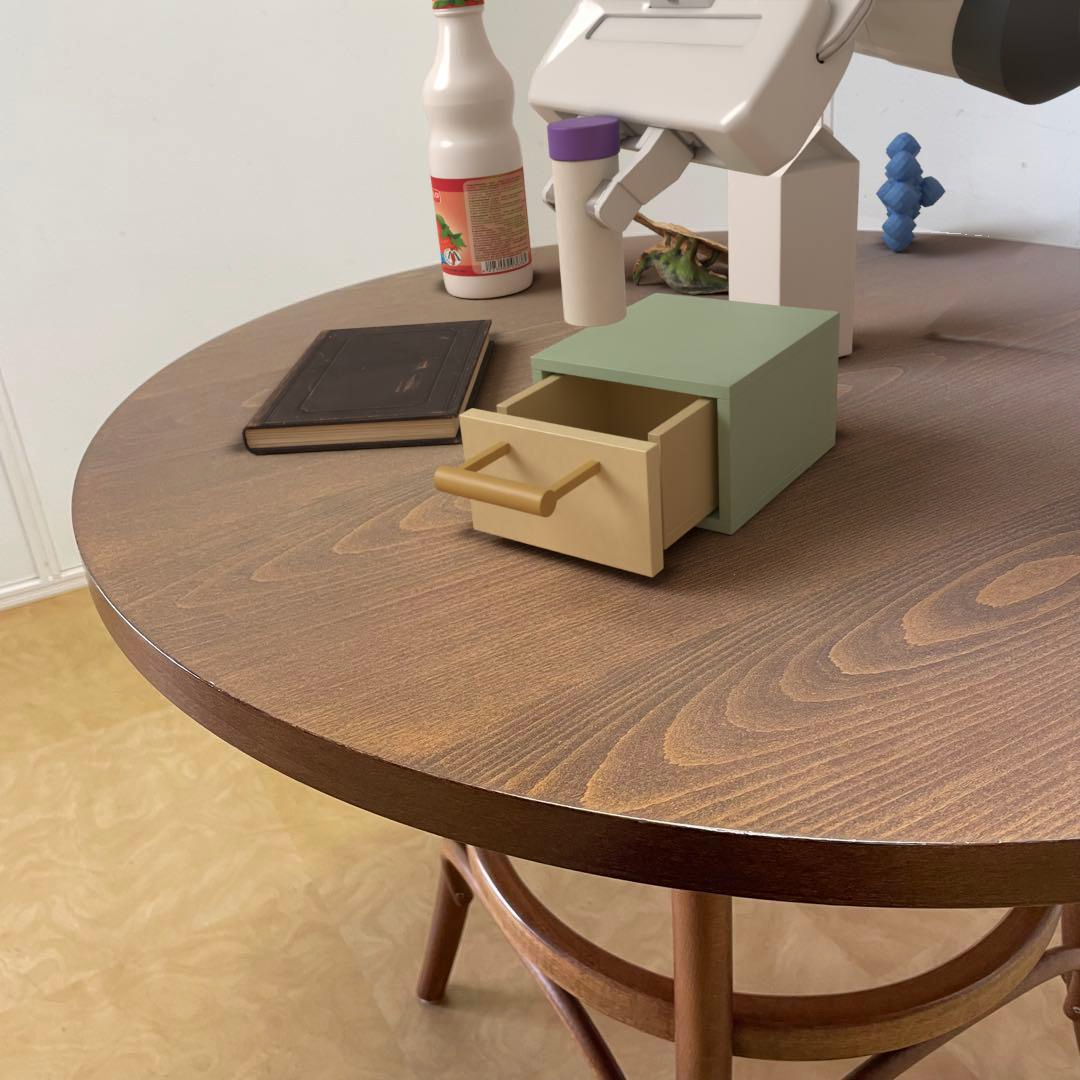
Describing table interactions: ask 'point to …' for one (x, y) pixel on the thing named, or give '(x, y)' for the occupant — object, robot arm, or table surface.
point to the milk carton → (798, 232)
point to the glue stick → (586, 220)
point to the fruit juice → (475, 160)
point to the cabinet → (725, 383)
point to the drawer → (590, 469)
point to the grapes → (905, 191)
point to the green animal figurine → (682, 259)
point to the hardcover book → (375, 389)
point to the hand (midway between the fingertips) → (577, 216)
